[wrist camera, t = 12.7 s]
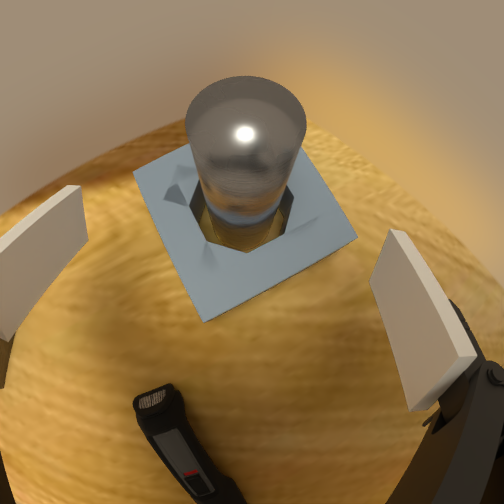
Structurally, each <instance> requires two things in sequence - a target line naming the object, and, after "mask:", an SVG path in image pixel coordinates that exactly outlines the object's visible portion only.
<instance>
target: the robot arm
mask: <svg viewBox="0 0 504 504" xmlns="http://www.w3.org/2000/svg"><path fill="white" fill-rule="evenodd" d="M87 241H88V235H87V228H86V222H85V215H84V208H83V200H82V191H81V186H74V185H67V186H66V187H64V188H63V189H62V190H60V191H59V192H57V193H56V194H55V195H53V196H52V197H51V198H49V199H48V200H47V201H45V202H44V203H43V204H41V205H40V206H39V207H37V208H36V209H35V210H33V211H32V212H31V213H30V214H28V215H27V216H26V217H25V218H23V219H22V220H21V221H20V222H19V223H17V224H16V225H15V226H14V227H13V228H11V229H10V230H9V231H8V232H7V233H6V234H4V235H3V236H2V237H1V238H0V338H1V339H3V340H5V341H7V342H9V341H10V339H11V338H12V336H13V335H14V333H15V332H16V330H17V329H18V327H19V326H20V325H21V323H22V322H23V320H24V319H25V318H26V316H27V315H28V313H29V312H30V311H31V309H32V308H33V307H34V305H35V304H36V303H37V301H38V300H39V299H40V297H41V296H42V295H43V294H44V292H45V291H46V290H47V288H48V287H49V286H50V285H51V283H52V282H53V281H54V280H55V279H56V277H57V276H58V275H59V274H60V272H61V271H62V270H63V269H64V268H65V266H66V265H67V264H68V263H69V262H70V261H71V259H72V258H73V257H74V256H75V255H76V254H77V253H78V251H79V250H80V249H81V248H82V247H83V246H84V245H85V244H86V242H87ZM369 283H370V286H371V289H372V292H373V294H374V297H375V300H376V303H377V306H378V308H379V311H380V314H381V317H382V320H383V323H384V326H385V329H386V332H387V335H388V339H389V342H390V345H391V348H392V351H393V355H394V358H395V362H396V365H397V368H398V372H399V375H400V379H401V383H402V386H403V390H404V394H405V398H406V402H407V406H408V410H409V412H411V411H421V410H428V409H429V408H430V407H431V406H432V405H433V404H434V403H435V402H436V401H437V400H438V401H439V404H440V408H439V409H438V410H437V411H436V412H435V413H434V414H433V415H432V416H430V417H429V418H428V419H427V420H426V421H425V422H424V423H423V425H422V426H424V427H425V426H426V425H427V424H428V423H429V422H431V423H430V425H429V427H428V430H427V432H426V434H425V436H424V438H423V440H422V442H421V444H420V446H419V448H418V450H417V452H416V453H415V455H414V457H413V459H412V461H411V463H410V464H409V466H408V468H407V470H406V471H405V473H404V475H403V477H402V478H401V480H400V482H399V483H398V485H397V486H396V488H395V490H394V491H393V493H392V494H391V496H390V497H389V499H388V500H387V502H386V503H385V504H504V369H503V368H502V367H501V366H500V365H499V364H498V363H496V362H493V361H486V359H485V357H484V355H483V353H482V351H481V349H480V347H479V345H478V343H477V341H476V339H475V337H474V335H473V333H472V331H470V328H469V326H468V324H467V322H465V318H464V316H463V315H462V313H461V311H460V309H459V308H458V307H457V306H456V305H455V304H454V303H453V302H452V301H451V300H450V299H448V298H447V296H446V295H445V293H444V291H443V290H442V288H441V286H440V285H439V283H438V281H437V280H436V278H435V276H434V275H433V273H432V272H431V270H430V268H429V267H428V265H427V264H426V262H425V261H424V259H423V257H422V256H421V254H420V253H419V251H418V250H417V248H416V247H415V245H414V244H413V242H412V241H411V240H410V238H409V237H408V235H407V234H406V232H404V231H399V230H394V229H389V232H388V235H387V237H386V240H385V243H384V245H383V248H382V250H381V253H380V255H379V258H378V260H377V263H376V265H375V268H374V270H373V273H372V275H371V277H370V280H369ZM0 504H16V503H15V500H14V497H13V494H12V491H11V488H10V485H9V482H8V478H7V475H6V471H5V468H4V464H3V460H2V456H1V452H0Z"/></svg>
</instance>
